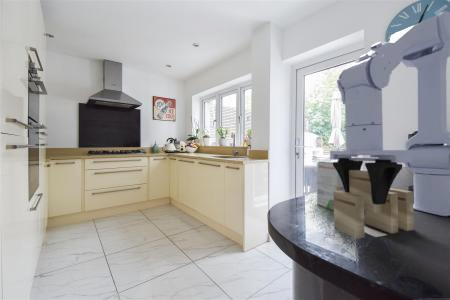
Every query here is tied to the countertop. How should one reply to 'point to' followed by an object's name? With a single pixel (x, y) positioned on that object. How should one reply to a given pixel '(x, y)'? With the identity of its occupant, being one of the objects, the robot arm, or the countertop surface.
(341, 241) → the countertop surface
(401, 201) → the tile
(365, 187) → the tile
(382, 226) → the tile
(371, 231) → the plate
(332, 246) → the countertop surface
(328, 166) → the ink box
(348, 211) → the tile
